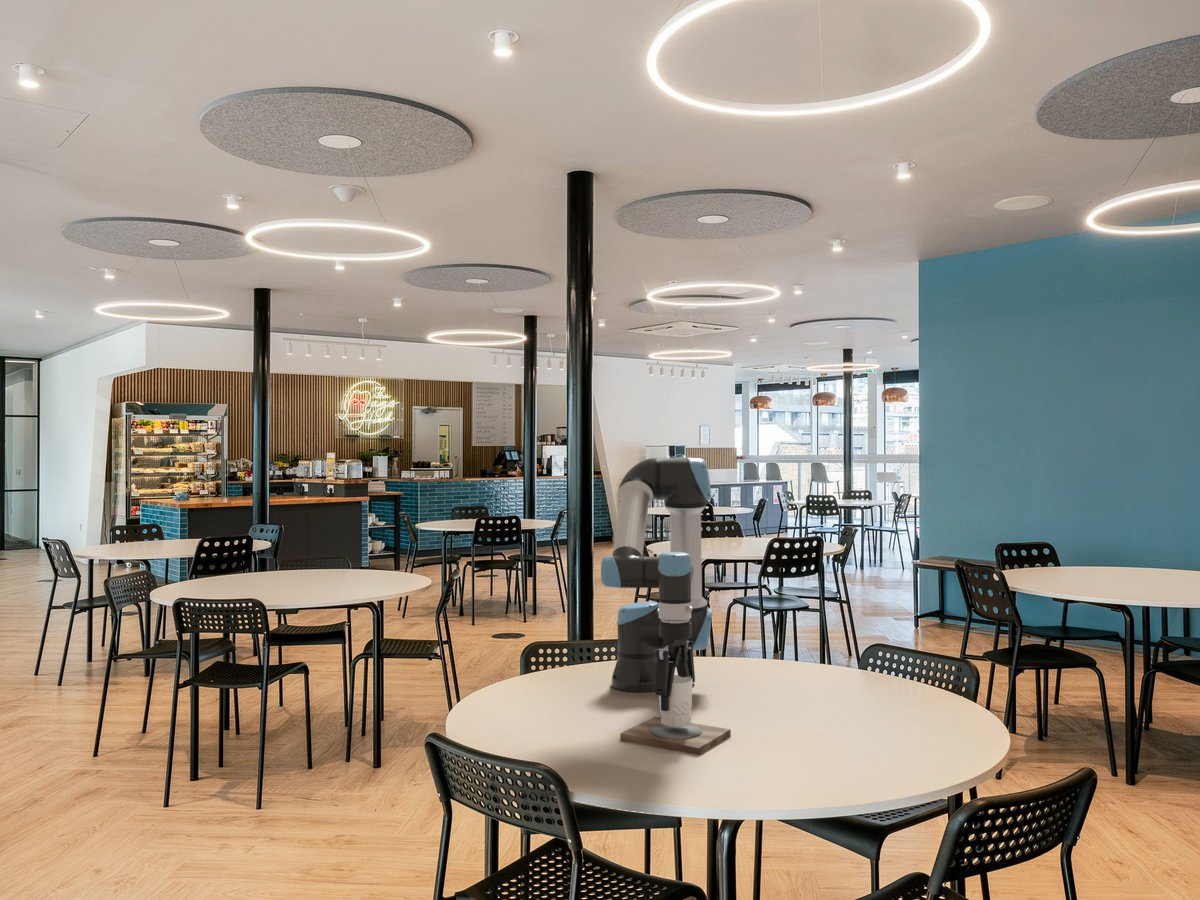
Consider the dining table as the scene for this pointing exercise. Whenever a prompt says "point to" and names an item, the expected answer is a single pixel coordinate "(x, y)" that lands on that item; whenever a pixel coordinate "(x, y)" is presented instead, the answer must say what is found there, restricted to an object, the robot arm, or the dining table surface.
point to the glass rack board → (676, 736)
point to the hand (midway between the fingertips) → (675, 719)
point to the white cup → (681, 700)
